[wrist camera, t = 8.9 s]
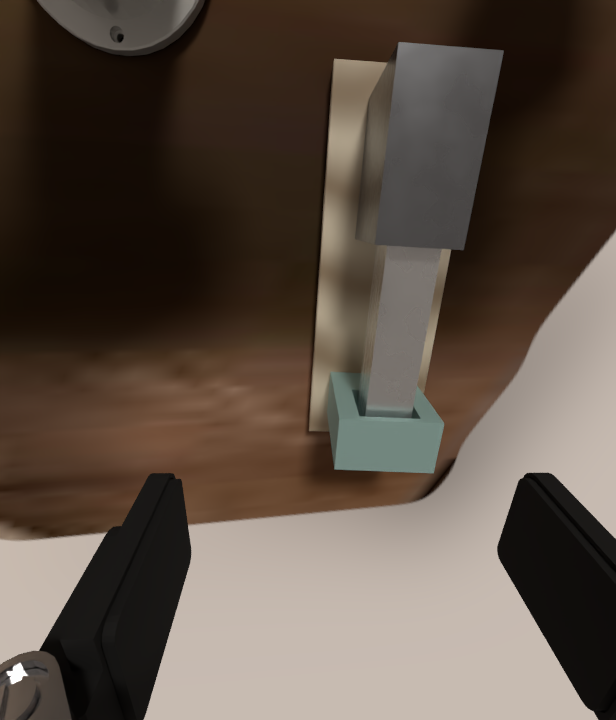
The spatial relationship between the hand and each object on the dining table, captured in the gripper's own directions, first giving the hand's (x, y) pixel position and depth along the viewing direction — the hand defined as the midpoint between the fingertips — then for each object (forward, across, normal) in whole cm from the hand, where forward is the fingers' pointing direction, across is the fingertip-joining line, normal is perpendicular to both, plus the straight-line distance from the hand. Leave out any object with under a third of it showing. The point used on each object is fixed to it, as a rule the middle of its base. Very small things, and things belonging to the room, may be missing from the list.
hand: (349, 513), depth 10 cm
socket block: (+21, -5, +7) cm, 22 cm away
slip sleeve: (+21, -6, -10) cm, 24 cm away
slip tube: (+17, -5, -1) cm, 18 cm away
